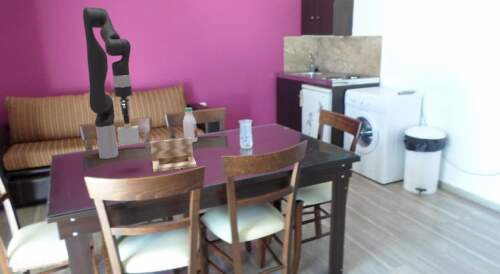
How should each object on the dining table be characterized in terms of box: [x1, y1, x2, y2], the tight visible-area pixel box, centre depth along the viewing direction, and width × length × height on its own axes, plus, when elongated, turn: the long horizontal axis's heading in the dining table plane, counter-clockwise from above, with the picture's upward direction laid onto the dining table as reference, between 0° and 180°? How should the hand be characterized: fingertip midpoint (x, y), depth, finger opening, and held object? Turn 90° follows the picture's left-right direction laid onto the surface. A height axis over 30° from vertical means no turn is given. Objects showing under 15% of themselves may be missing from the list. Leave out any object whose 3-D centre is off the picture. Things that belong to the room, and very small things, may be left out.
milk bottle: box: [182, 106, 199, 144], centre depth 226 cm, size 8×8×20 cm
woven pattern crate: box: [149, 137, 197, 173], centre depth 187 cm, size 20×14×11 cm
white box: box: [116, 113, 140, 145], centre depth 178 cm, size 9×5×13 cm, turn 105°
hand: (127, 122), depth 177 cm, fingers closed on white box
